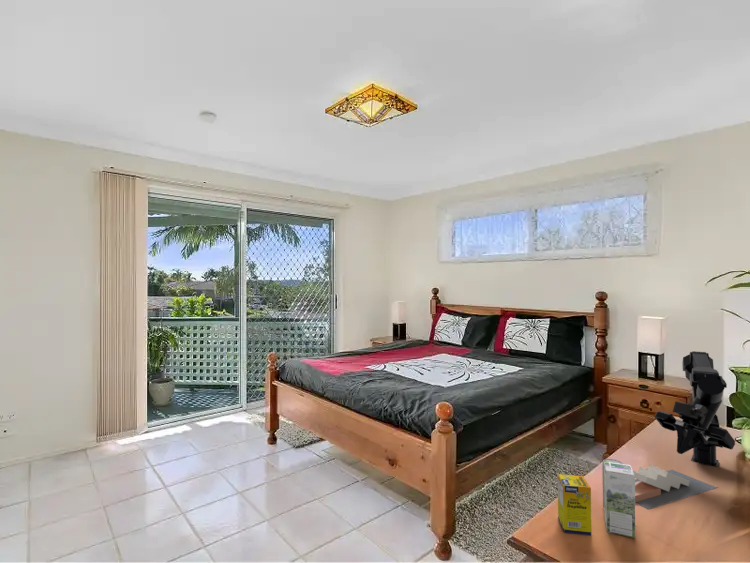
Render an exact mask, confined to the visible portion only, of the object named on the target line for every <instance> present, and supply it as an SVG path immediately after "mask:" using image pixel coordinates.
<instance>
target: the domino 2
mask: <svg viewBox="0 0 750 563" xmlns="http://www.w3.org/2000/svg"><path fill="white" fill-rule="evenodd" d="M637 472H638V473H641V474H643V475H645V476H648V477H650V478H652V479H655V480H657V481H659V482H662V483H664V484H667V485H670V486H672V487H675V488H677V489H679V487H680V483H678V482H676V481H673V480H671V479H668V478H666V477H663V476H661V475H659V474H656V473H654V472H651V471H649V470H648V468H647V469H646V468H644V467H642V466H639V468H638V471H637Z"/></svg>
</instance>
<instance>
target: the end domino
mask: <svg viewBox="0 0 750 563" xmlns="http://www.w3.org/2000/svg"><path fill="white" fill-rule="evenodd" d="M658 495H661V489H660V488H658V487H655V486H653V485H650V484H647V483H645V482H643V481H638V482H635V502H638V501H641V500H644V499H648V498H651V497H654V496H658Z"/></svg>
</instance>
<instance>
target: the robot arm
mask: <svg viewBox="0 0 750 563" xmlns="http://www.w3.org/2000/svg"><path fill="white" fill-rule="evenodd" d="M681 363H682V365H681V367H682V371H683V372H684V373H685V374H684V375H685V378H686V379H687V380H688V381H689V385H690V386H691V390H692V398H693V399H692V403H685V402H680V401H674V403H673V404H674V405H673V407H672V408H673V409H672V413H676V414H678V417H679V419H677V418H676V417H675V416H674V415H673V414H672V413H670V412H666V411H662V410H659V411H657V412H656V413H655V415H654V416H653V417H654V418H655V420H656V421H657V423H659V425H660V427H662V428H664V429H665V430H669V431H671V432H675V431H676V433H677V434H676V436H677V441H676V442H677V443H676V452H677V454H680V455H683V454H685V453H686V452H688V451H690V450H692V454H693V455H692V456H691V459H690V462H693V463H696V464H697V463H698V464H701V465H705V466H710V467H716V468H717V467H719V463H720V462H719V461H720V460H719V459H717V447H718V448H722V449H723V448H725V449H729V450H733V449H734V447H735V445H736V440H735V439H734V438H733V436H732V435H731V433H730V432H729V431H728V429H725V428H723V427H721V426H720V422H719V421H720V420H719V418H718V416H717V411H718V410H719V408H720V407H721V404H722V403H723V399H722V398H723V394H724V390H725V389H726V388H728V387H727V384H728V383H727V381H726V380H725V379H724V378H723V376H722V375H720V373H719V371H718V369H715V368H714V359H713V358H712V357H710V354H709V352H706V351H690V352H689V354H687V355H686V356H683V357H682V362H681Z"/></svg>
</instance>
